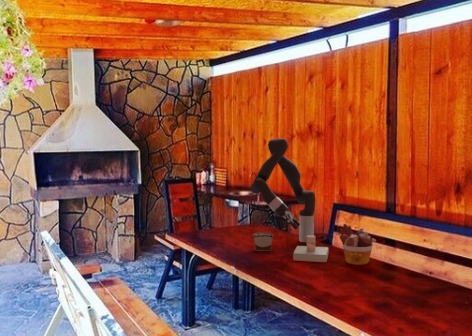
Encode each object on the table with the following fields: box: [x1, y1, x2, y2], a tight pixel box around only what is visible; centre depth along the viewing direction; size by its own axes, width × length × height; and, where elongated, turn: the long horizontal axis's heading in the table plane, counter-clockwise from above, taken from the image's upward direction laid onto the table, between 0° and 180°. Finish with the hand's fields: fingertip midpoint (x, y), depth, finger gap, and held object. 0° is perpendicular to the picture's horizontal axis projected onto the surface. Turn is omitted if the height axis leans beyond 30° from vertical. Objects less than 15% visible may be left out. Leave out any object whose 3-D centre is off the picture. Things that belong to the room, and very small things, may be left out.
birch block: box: [306, 235, 316, 251], centre depth 271 cm, size 4×4×8 cm
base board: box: [292, 245, 329, 263], centre depth 272 cm, size 18×18×4 cm
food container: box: [252, 232, 274, 252], centre depth 291 cm, size 12×6×10 cm, turn 84°
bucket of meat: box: [339, 223, 377, 266], centre depth 259 cm, size 20×16×20 cm
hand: (298, 227), depth 273 cm, fingers open, 8 cm apart
